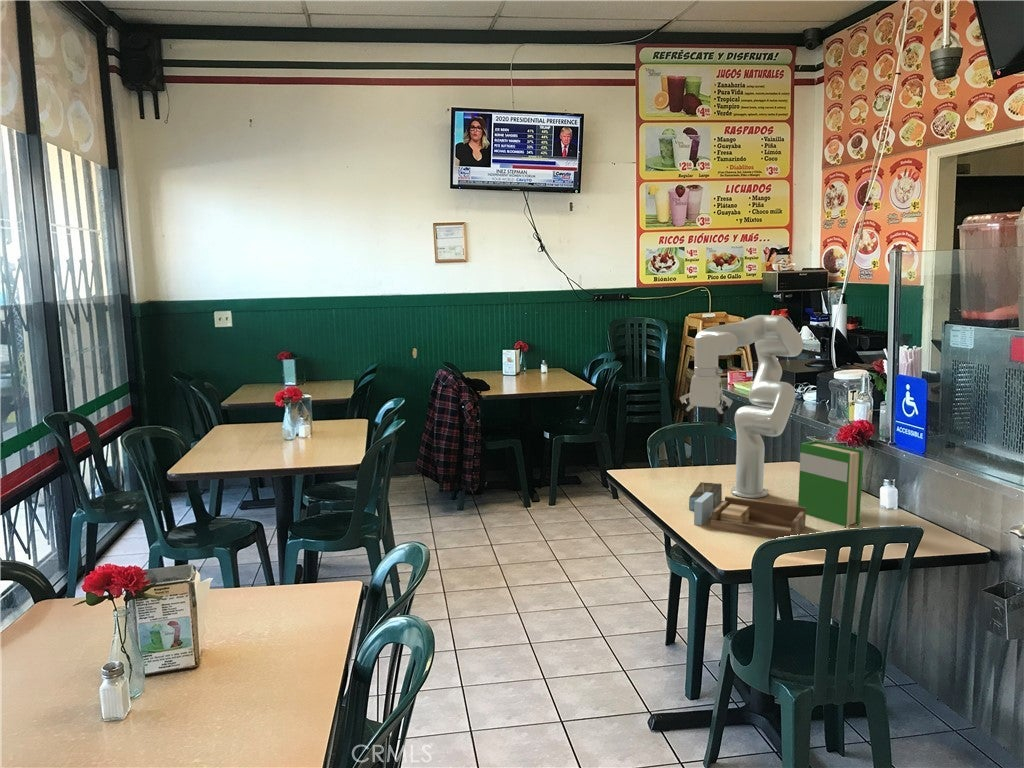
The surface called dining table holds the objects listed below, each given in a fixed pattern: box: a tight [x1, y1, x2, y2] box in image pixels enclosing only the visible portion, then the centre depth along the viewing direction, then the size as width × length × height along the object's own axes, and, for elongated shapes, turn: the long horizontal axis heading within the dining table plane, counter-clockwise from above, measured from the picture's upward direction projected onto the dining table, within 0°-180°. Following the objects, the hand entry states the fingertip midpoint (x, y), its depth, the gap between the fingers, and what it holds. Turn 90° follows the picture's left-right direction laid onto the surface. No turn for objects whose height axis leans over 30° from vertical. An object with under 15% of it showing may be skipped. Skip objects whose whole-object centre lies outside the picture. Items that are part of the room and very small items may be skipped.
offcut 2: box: [720, 512, 749, 524], centre depth 264 cm, size 11×6×2 cm, turn 150°
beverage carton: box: [688, 481, 723, 512], centre depth 285 cm, size 8×19×7 cm, turn 156°
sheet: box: [693, 492, 714, 526], centre depth 268 cm, size 12×2×8 cm, turn 150°
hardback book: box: [797, 440, 864, 529], centre depth 268 cm, size 18×7×24 cm, turn 32°
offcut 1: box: [721, 504, 750, 520], centre depth 263 cm, size 11×6×2 cm, turn 150°
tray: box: [710, 495, 807, 539], centre depth 260 cm, size 16×25×7 cm, turn 60°
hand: (705, 423), depth 276 cm, fingers open, 9 cm apart
